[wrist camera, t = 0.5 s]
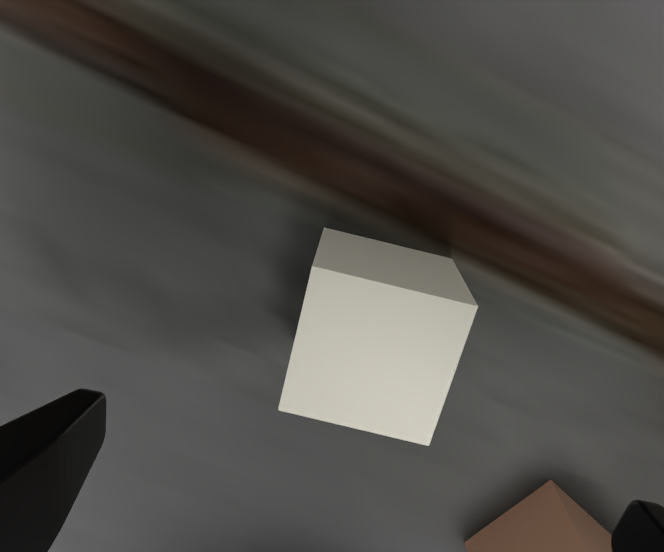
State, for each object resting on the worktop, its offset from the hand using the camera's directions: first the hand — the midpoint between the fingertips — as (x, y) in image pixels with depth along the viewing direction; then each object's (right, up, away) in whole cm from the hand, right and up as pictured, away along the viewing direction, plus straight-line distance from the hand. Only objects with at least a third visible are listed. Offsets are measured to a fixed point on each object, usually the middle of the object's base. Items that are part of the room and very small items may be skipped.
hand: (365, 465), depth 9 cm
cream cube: (+1, +2, +12) cm, 12 cm away
